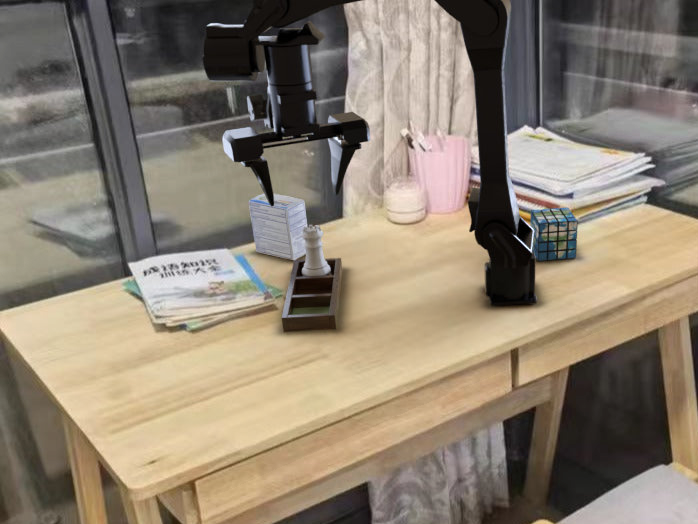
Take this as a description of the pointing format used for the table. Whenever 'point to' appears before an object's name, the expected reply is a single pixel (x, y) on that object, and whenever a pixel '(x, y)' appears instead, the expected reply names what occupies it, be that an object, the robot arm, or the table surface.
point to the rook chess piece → (314, 253)
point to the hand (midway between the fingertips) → (304, 199)
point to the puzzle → (554, 233)
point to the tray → (312, 299)
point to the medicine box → (278, 226)
